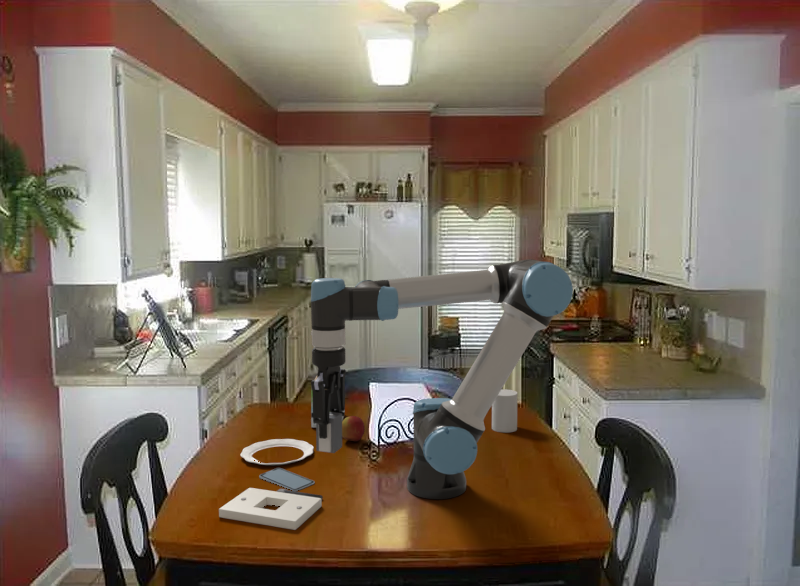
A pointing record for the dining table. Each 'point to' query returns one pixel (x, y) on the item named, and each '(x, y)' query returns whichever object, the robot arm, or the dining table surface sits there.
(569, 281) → the robot arm
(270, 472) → the smartphone
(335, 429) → the block
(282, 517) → the outlet plate
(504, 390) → the white cylinder
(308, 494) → the cable
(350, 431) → the apple
